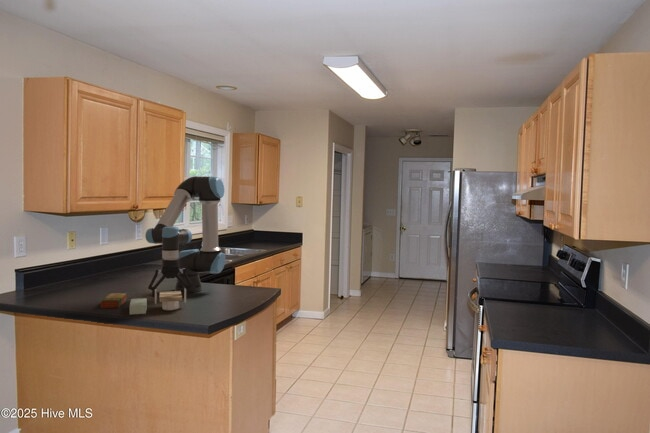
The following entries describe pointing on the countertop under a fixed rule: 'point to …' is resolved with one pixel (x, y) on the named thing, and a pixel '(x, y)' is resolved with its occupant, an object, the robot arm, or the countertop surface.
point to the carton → (113, 300)
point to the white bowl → (170, 305)
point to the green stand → (138, 306)
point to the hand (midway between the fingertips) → (170, 302)
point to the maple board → (170, 296)
